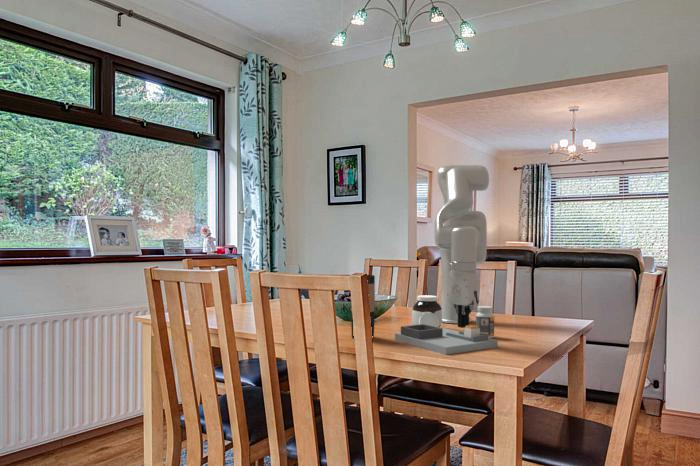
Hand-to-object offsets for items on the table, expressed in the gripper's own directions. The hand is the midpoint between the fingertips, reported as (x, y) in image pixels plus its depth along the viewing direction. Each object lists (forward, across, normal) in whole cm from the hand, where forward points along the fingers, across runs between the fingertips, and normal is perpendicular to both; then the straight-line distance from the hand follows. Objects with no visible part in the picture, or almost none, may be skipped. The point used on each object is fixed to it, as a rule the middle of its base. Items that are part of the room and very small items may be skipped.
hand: (463, 326), depth 161 cm
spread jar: (+6, -22, +5) cm, 23 cm away
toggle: (+3, +4, 0) cm, 5 cm away
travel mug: (+5, -22, -22) cm, 32 cm away
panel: (+5, -2, -6) cm, 8 cm away
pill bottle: (+5, -3, +12) cm, 14 cm away
